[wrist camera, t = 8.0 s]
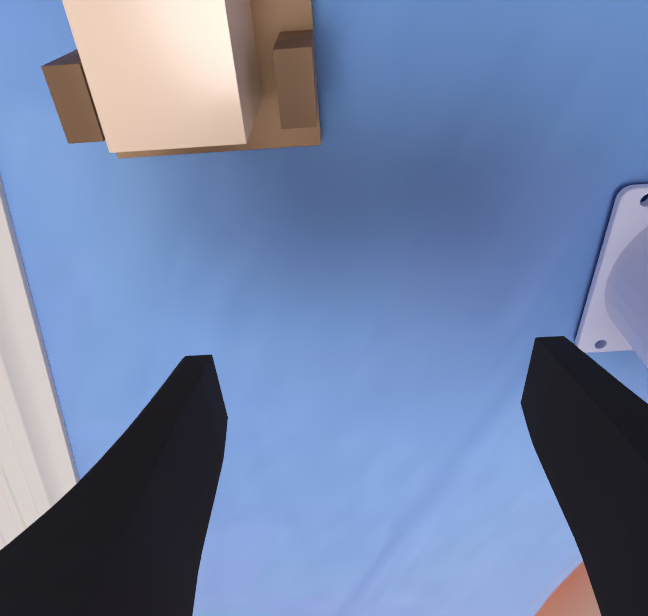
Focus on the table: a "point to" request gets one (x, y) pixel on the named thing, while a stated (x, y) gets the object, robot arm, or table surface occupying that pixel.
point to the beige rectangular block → (169, 70)
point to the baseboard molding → (26, 402)
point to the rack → (275, 77)
